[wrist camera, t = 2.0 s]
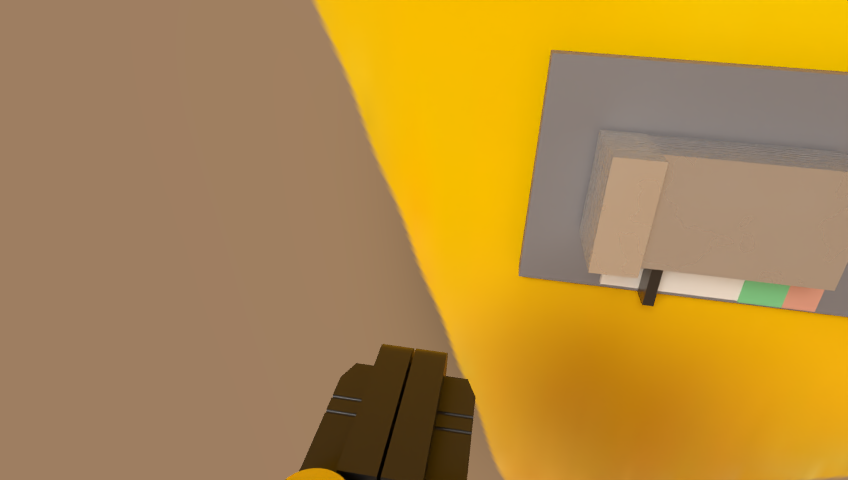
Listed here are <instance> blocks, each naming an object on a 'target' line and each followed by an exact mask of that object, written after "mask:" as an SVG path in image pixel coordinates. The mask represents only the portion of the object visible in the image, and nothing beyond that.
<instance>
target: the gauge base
mask: <svg viewBox="0 0 848 480" xmlns="http://www.w3.org/2000/svg"><path fill="white" fill-rule="evenodd" d="M599 130H610V131H620V132H631V133H642V134H653V135H664V136H675V137H686V138H697V139H708V140H719V141H730V142H741V143H752V144H763V145H774V146H785V147H796V148H807V149H818V150H829V151H840V152H846V153H848V72H839V71H826V70H813V69H799V68H786V67H772V66H759V65H746V64H732V63H719V62H705V61H692V60H679V59H665V58H652V57H639V56H625V55H612V54H598V53H585V52H572V51H558V50H551V55H550V62H549V69H548V75H547V82H546V89H545V95H544V102H543V109H542V116H541V122H540V129H539V136H538V142H537V149H536V156H535V162H534V169H533V176H532V183H531V189H530V196H529V203H528V209H527V216H526V223H525V229H524V236H523V243H522V250H521V256H520V263H519V276H523V277H531V278H539V279H547V280H555V281H563V282H571V283H579V284H587V285H595V286H603V287H611V288H619V289H628V290H636V291H638V287H639V284H640V280H641V276H642V272H643V269H644V268H640V272H639V276H638V279H637V278H629V277H621V276H613V275H605V274H596V273H588V270H587V265H586V261H585V256H584V251H583V247H582V242H581V238H580V233H579V230H580V225H581V220H582V215H583V210H584V205H585V200H586V195H587V190H588V185H589V180H590V175H591V170H592V165H593V160H594V155H595V150H596V145H597V140H598V135H599ZM657 293H660V294H668V295H676V296H684V297H692V298H700V299H708V300H716V301H724V302H732V303H740V304H748V305H756V306H764V307H772V308H780V309H788V310H796V311H804V312H812V313H820V314H828V315H836V316H844V317H848V263H847V265H846V267H845V269H844V271H843V274H842V276H841V278H840V280H839V282H838V284H837V287H836V289H835V291H831V290H823V289H814V288H806V287H798V286H789V285H781V284H772V283H764V282H756V281H747V280H739V279H731V278H722V277H714V276H706V275H697V274H689V273H680V272H672V271H664V270H663V273H662V277H661V280H660V284H659V287H658V291H657Z"/></svg>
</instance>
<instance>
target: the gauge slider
mask: <svg viewBox="0 0 848 480" xmlns="http://www.w3.org/2000/svg"><path fill="white" fill-rule="evenodd" d="M579 233H580V238H581V242H582V247H583V251H584V256H585V261H586V265H587V270H588V273H596V274H605V275H613V276H621V277H629V278H637V279H638V276H639V272H640V268H644V269H643V272H642V276H641V280H640V284H639V287H638V291H637V292H638V294H639V297H640V300H641V303H642V305H649V306H653V305H654V301H655V298H656V294H657V291H658V287H659V284H660V280H661V277H662V273H663V270H664V271H672V272H680V273H689V274H697V275H706V276H714V277H722V278H731V279H739V280H747V281H756V282H764V283H772V284H781V285H789V286H798V287H806V288H814V289H823V290H831V291H835V289H836V287H837V284H838V282H839V280H840V278H841V276H842V274H843V271H844V269H845V267H846V265H847V263H848V153H846V152H840V151H829V150H818V149H807V148H796V147H785V146H774V145H763V144H752V143H741V142H730V141H719V140H708V139H697V138H686V137H675V136H664V135H653V134H642V133H631V132H620V131H610V130H599V135H598V140H597V145H596V150H595V155H594V160H593V165H592V170H591V175H590V180H589V185H588V190H587V195H586V200H585V205H584V210H583V215H582V220H581V225H580V230H579Z"/></svg>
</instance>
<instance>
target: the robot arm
mask: <svg viewBox="0 0 848 480" xmlns="http://www.w3.org/2000/svg"><path fill="white" fill-rule="evenodd" d="M447 355H448V354H447V353H444V352H436V351H429V350H422V349H416V350H415V352H414V349H413V348H406V347H400V346H392V345H385V344H383V345H382V346H381V348H380V351H379V354H378V356H377V359H376V362H375V364H374V366H371V365H365V364H358V363H356V364H355V365H354V366H353V367H352V368H350V370H348V372H346V373H345V374H344V375H343V376H342V377H341V378H340V380H339V382H338V385H337V387H336V389H335V391H334V394H333V398H331V401H330V403H329V405H328V407H327V411H326V413H325V414H324V416H323V419H322V421H321V423H320V426H319V428H318V430H317V432H316V435H315V437H314V439H313V442H312V444H311V446H310V448H309V451H308V453H307V455H306V458H305V460H304V462H303V465H302V467H301V469H300V470H299V472H297V473H294V474H293V475H291V476H290V477H288V478H287V479H286V480H467V473H468V463H469V454H470V444H471V434H472V424H473V415H474V405H475V395H474V393H473V391H472V388H471V386H470V384H469V381H468V379H462V378H455V377H448V376H446V369H447V357H448V356H447Z"/></svg>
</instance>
